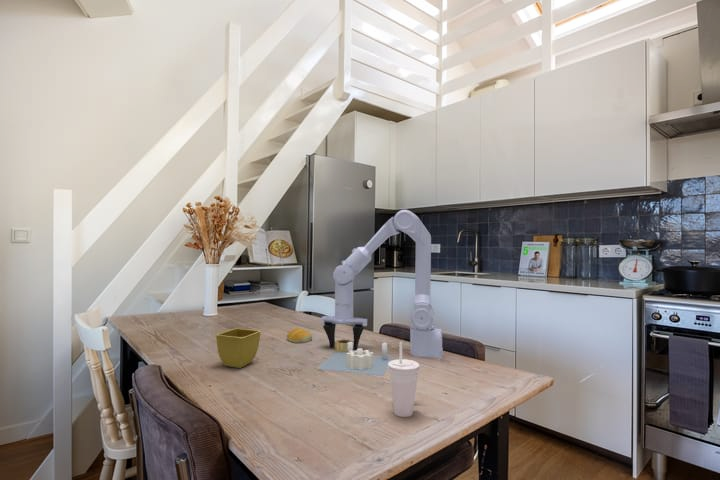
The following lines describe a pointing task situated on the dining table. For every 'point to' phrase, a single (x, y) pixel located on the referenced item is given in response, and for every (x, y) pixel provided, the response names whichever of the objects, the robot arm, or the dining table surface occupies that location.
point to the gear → (360, 360)
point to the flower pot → (238, 346)
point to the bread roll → (299, 336)
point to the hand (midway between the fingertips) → (343, 347)
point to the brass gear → (342, 345)
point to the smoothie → (403, 384)
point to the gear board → (340, 364)
